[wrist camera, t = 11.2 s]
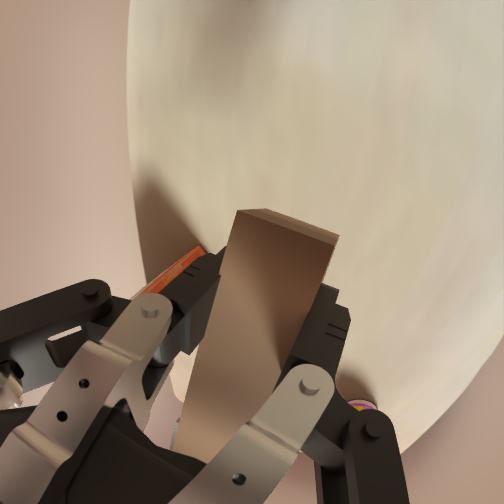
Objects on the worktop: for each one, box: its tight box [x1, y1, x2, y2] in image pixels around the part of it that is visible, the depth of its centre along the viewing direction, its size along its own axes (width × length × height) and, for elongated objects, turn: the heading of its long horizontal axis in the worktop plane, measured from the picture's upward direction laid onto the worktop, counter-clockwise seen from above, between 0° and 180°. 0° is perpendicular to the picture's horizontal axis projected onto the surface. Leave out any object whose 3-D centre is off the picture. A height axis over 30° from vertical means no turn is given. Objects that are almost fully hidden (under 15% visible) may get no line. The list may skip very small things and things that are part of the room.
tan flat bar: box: [170, 209, 340, 464], centre depth 12 cm, size 18×5×3 cm, turn 169°
